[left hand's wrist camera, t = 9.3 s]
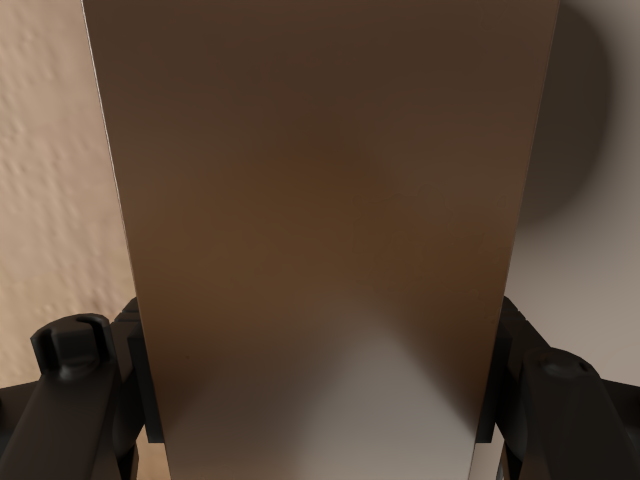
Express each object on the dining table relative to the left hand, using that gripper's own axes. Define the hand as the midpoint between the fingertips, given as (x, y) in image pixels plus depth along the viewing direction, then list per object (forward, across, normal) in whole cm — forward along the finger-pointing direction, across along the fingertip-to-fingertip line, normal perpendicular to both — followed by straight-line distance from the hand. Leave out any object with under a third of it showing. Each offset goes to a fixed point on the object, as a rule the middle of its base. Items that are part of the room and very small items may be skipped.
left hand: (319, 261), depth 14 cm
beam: (0, 0, -28) cm, 29 cm away
